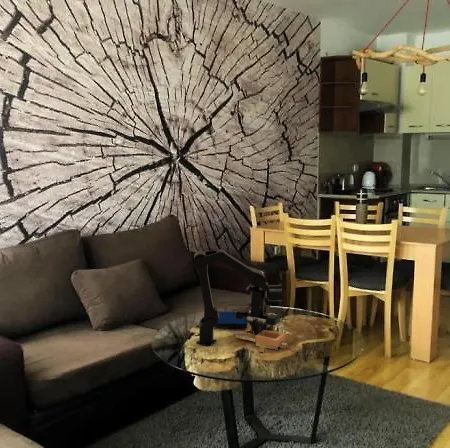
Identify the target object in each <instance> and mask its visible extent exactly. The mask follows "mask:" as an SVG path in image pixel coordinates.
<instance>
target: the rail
mask: <svg viewBox="0 0 450 448" xmlns="http://www.w3.org/2000/svg"><path fill="white" fill-rule="evenodd" d="M277 333H281V332H280V331H279V332H278V331H277ZM236 336H241V337H247V338H253V339H255V336H256V335H251V334H246V333H241V332H238V333H236ZM279 344H282V345H285V346H286V345H287V346H288V343H287V342H285V343H284V342H280V343H279ZM259 348H260V349H264V348H265V347H264V346H259V347H258V349H259ZM265 349H266V348H265Z"/></svg>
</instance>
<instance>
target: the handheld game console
mask: <svg viewBox="0 0 450 448" xmlns="http://www.w3.org/2000/svg"><path fill="white" fill-rule="evenodd" d="M236 312H237V311H223V310H222V311H220V310H219V311H218V313H219V320H218V323H217V325H216V326H215V327H214V328H243V327H246V328H247V327H248V322H247V320H248V317H245V316H243V318H242V319H237V318H235V313H236Z"/></svg>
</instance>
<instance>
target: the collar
mask: <svg viewBox="0 0 450 448" xmlns="http://www.w3.org/2000/svg"><path fill="white" fill-rule="evenodd" d="M277 332H278V331H277ZM277 332H276V331H271V330H268V329H267V330H263V331H261V332H260V333H259V334H257V335H254V336H255V342H259V343H262V344H268V345H273V346H276V347H277V346H279V343H280V342H281V341H283V342H284V341H285V342H286V334H285V333H282V332H280V333H277Z"/></svg>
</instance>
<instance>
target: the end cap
mask: <svg viewBox="0 0 450 448" xmlns="http://www.w3.org/2000/svg"><path fill="white" fill-rule="evenodd" d="M264 315H265V316H269V315H270V314H269V313H267V314H264ZM268 327H270V325H268V324H267V323H264V324H263V326H262V328H261V330H260V332H261V331H263V330H267V331H268ZM250 328H251V329H250V331H251V332H252V331H253V329H252V327H251V326H250Z"/></svg>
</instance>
